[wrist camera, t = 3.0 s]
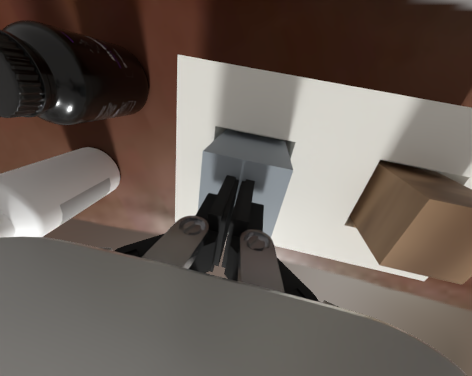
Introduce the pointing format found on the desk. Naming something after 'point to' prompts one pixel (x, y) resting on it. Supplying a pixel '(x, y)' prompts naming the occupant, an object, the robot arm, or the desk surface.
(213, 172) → the slate peg
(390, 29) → the desk surface
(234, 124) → the peg board
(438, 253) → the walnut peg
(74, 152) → the spray bottle
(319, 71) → the desk surface
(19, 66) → the supplement bottle
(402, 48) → the desk surface
